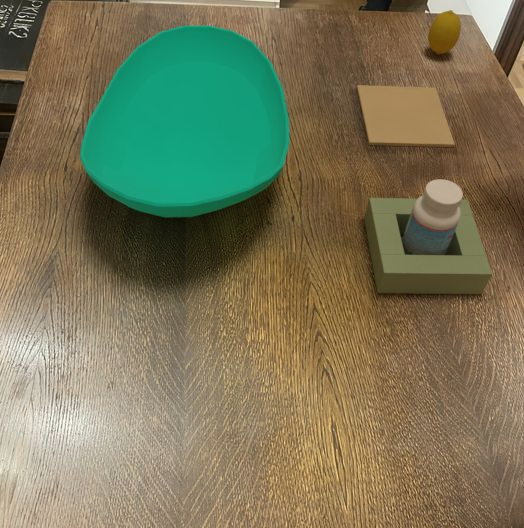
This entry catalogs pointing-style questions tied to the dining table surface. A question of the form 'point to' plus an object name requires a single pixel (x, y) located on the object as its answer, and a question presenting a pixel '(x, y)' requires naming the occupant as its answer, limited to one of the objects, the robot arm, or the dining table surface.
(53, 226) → the dining table surface
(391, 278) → the stand
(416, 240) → the pill bottle
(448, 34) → the lemon
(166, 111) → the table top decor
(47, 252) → the dining table surface
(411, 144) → the mat
